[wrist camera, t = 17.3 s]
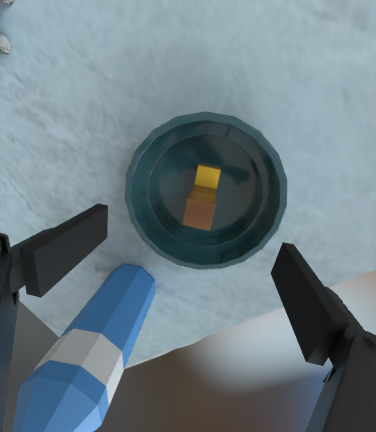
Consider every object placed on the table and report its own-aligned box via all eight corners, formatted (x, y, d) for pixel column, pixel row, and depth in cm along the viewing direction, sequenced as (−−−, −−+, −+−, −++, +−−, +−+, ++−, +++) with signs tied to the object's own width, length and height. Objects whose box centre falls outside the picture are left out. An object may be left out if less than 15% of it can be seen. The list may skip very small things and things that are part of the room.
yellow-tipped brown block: (199, 162, 29) (191, 173, 20) (220, 167, 29) (222, 179, 19) (189, 214, 32) (178, 245, 23) (208, 218, 32) (204, 251, 22)
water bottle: (102, 268, 39) (-68, 457, 16) (145, 258, 37) (21, 460, 14) (122, 306, 42) (2, 514, 19) (163, 299, 40) (86, 524, 16)
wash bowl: (149, 107, 28) (130, 98, 22) (292, 132, 27) (314, 130, 21) (138, 233, 35) (121, 252, 29) (251, 257, 34) (258, 283, 28)
